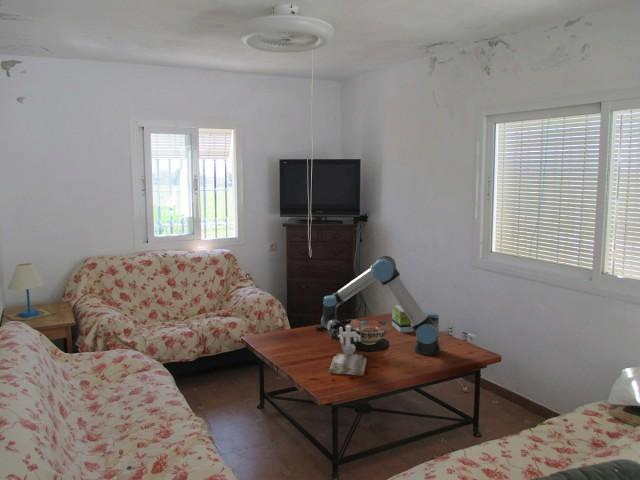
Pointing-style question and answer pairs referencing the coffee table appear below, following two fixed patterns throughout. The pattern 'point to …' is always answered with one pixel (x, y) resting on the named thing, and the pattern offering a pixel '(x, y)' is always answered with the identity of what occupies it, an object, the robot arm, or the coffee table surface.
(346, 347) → the figurine
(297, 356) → the coffee table surface
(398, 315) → the tea box
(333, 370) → the plinth
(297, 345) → the coffee table surface
